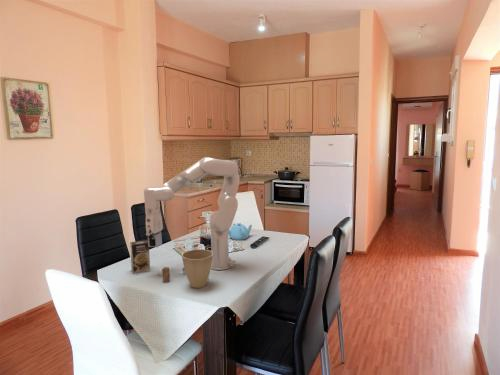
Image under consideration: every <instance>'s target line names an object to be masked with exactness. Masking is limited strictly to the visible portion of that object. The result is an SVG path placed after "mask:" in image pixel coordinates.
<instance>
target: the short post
mask: <svg viewBox="0 0 500 375" xmlns="http://www.w3.org/2000/svg"><path fill="white" fill-rule="evenodd" d="M182 276H187V275H186V272H185V268H184V266H183V267H182Z"/></svg>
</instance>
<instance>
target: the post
mask: <svg viewBox="0 0 500 375" xmlns="http://www.w3.org/2000/svg"><path fill="white" fill-rule="evenodd" d="M161 273H162V274H161V276H162V283H169V282H170V280H171V277H170V276H171V275H170V274H171V273H170V267H169V266H164V267H163V268H161Z"/></svg>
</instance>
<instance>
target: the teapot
mask: <svg viewBox="0 0 500 375" xmlns="http://www.w3.org/2000/svg"><path fill="white" fill-rule="evenodd" d="M252 226H253V225H252V224H249V226H248V227H246V225H244V224H242V223H241V222H237V223H232V226H231V227H230V228H231V229H230V228H229V229H228V237H229V238H230V239H231V238H232V240H233V241H234V240H235V241H242V240H244V241H245V240H246V239H247V238H248V237H249V236H250V233H251V230H252Z"/></svg>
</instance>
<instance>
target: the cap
mask: <svg viewBox="0 0 500 375" xmlns="http://www.w3.org/2000/svg"><path fill="white" fill-rule="evenodd" d="M151 235H152V234H151ZM162 238H163V236H162V231H161V232H157V233H155V234H154V239H155V246H150V245H149V239H148V238H147V241H148V247H149V248H159V247H160V246H162V245H163V239H162Z"/></svg>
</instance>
